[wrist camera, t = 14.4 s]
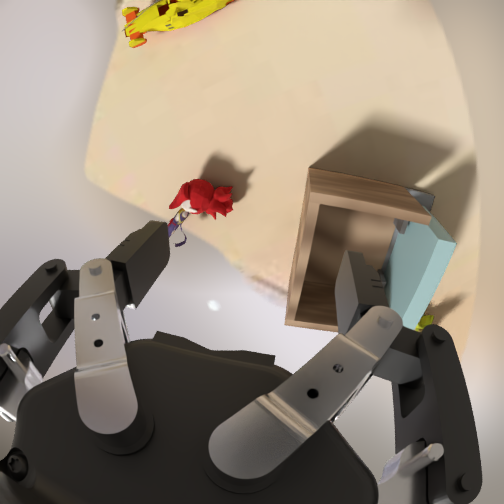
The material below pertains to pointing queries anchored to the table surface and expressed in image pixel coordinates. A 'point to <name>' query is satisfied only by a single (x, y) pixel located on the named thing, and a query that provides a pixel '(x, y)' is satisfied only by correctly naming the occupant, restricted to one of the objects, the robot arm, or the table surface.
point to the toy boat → (166, 17)
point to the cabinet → (344, 238)
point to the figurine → (199, 202)
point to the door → (417, 269)
